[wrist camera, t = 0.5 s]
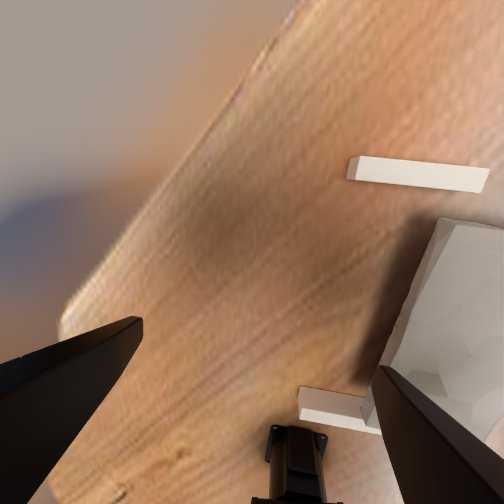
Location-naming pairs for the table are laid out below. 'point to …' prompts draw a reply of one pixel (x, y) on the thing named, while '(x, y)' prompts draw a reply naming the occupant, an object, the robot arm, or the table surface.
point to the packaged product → (454, 327)
